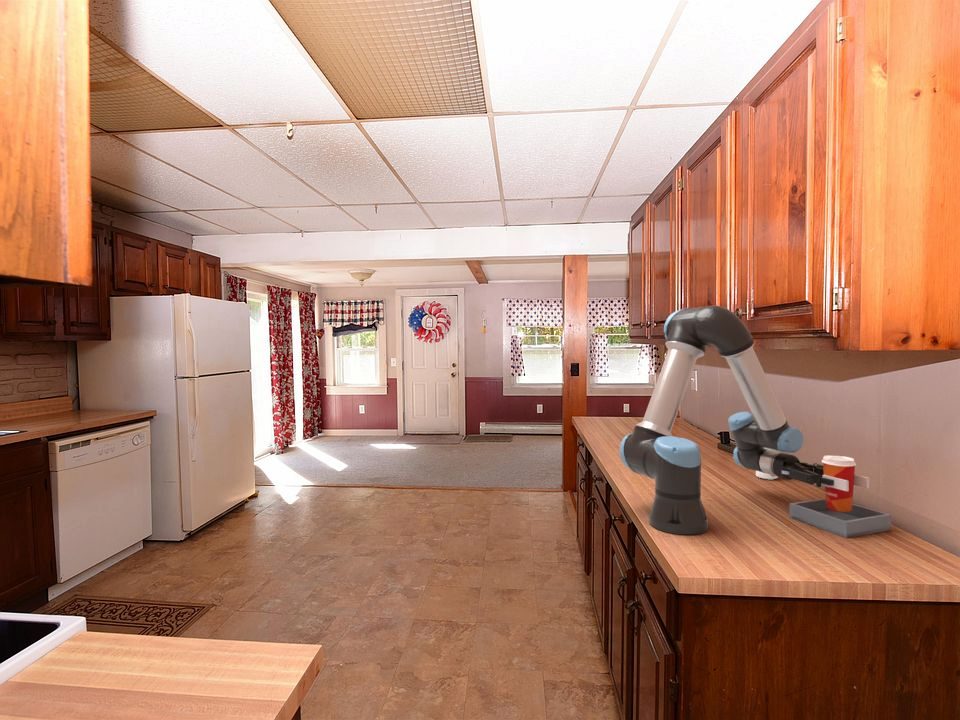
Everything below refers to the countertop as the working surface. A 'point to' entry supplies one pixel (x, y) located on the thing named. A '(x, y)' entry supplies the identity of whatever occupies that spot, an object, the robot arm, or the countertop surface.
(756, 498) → the countertop surface
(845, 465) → the paper cup
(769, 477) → the can
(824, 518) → the box
